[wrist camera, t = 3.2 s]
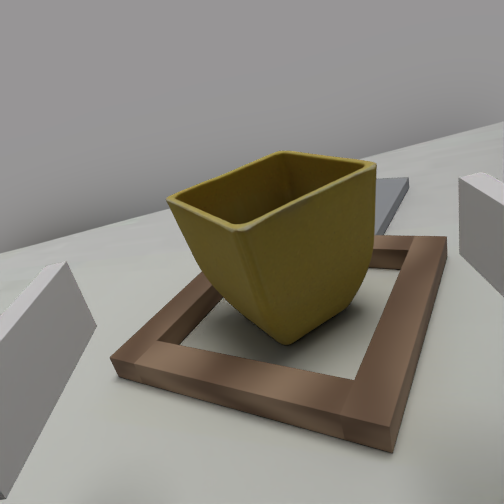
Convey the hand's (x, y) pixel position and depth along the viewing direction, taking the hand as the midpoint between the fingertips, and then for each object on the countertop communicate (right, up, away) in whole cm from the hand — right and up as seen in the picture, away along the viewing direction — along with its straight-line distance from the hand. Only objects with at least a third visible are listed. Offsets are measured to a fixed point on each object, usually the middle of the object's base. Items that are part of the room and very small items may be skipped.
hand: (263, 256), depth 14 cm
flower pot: (+2, -4, +13) cm, 14 cm away
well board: (+2, -4, +13) cm, 14 cm away
